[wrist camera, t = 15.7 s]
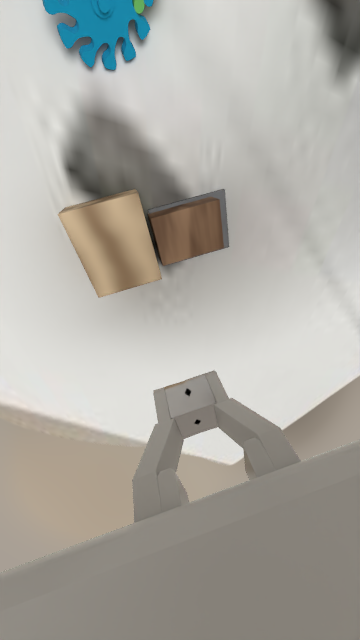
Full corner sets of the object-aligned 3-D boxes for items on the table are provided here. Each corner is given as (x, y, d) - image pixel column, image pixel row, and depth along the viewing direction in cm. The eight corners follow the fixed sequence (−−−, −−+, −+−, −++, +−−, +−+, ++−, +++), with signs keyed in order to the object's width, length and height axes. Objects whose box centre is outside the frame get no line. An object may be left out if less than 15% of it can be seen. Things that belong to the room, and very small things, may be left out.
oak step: (135, 189, 32) (137, 192, 28) (157, 267, 39) (162, 278, 35) (65, 207, 32) (57, 214, 28) (100, 283, 39) (98, 297, 35)
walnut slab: (147, 214, 34) (211, 196, 35) (159, 258, 38) (216, 241, 39) (150, 218, 31) (219, 199, 32) (163, 265, 36) (223, 247, 36)
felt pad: (223, 188, 35) (224, 189, 35) (228, 246, 40) (229, 246, 40) (147, 209, 34) (148, 210, 34) (162, 265, 40) (163, 266, 39)
